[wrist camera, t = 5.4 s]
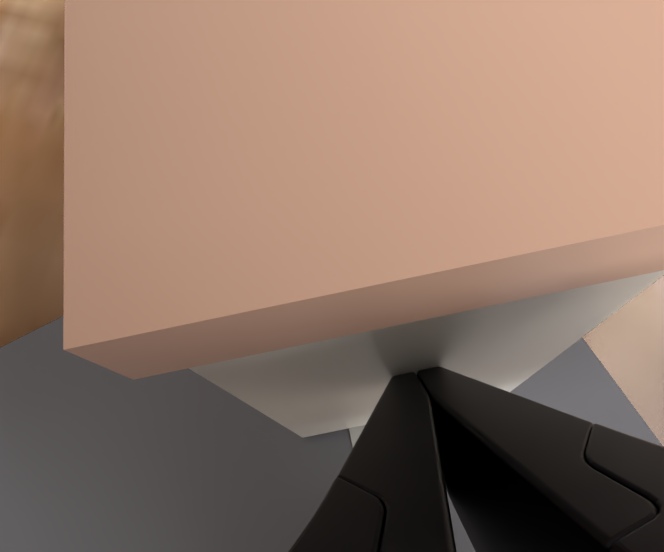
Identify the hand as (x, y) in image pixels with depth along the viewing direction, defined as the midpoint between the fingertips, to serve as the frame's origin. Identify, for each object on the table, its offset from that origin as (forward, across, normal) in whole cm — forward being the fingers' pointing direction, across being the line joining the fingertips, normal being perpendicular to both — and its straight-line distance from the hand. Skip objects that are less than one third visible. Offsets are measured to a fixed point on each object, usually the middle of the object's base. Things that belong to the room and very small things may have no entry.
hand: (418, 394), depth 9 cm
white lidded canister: (+6, 0, -2) cm, 6 cm away
